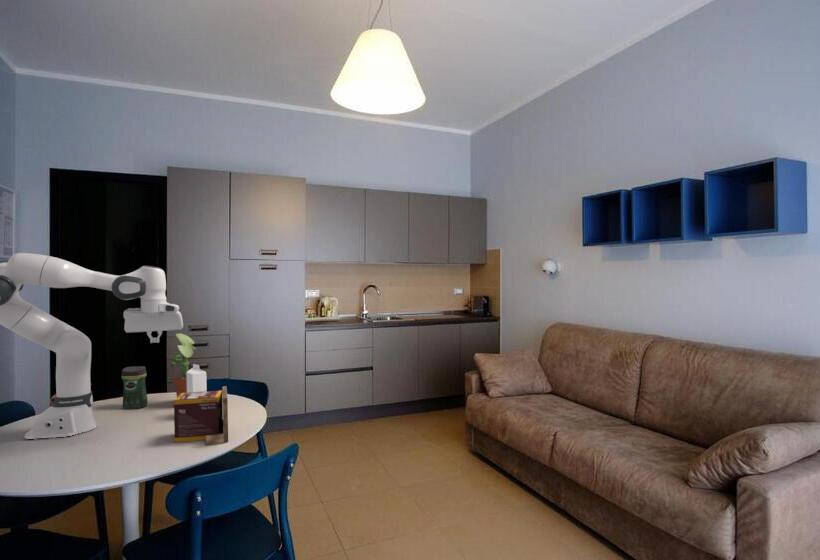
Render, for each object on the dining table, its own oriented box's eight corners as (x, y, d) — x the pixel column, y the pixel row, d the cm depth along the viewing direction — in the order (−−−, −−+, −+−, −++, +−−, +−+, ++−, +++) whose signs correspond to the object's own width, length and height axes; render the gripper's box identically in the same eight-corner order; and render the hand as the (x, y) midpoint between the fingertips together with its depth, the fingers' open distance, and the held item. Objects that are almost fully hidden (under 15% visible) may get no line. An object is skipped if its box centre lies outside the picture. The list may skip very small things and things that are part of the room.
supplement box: (219, 438, 176) (218, 396, 176) (174, 442, 173) (173, 399, 172) (223, 429, 186) (223, 389, 186) (181, 433, 183) (180, 392, 182)
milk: (193, 419, 200) (191, 366, 199) (187, 416, 204) (185, 364, 203) (207, 415, 204) (206, 364, 203) (201, 412, 208) (200, 362, 207)
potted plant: (163, 407, 216) (161, 330, 215) (189, 398, 231) (187, 326, 230) (190, 410, 211) (188, 332, 210) (215, 401, 225) (213, 327, 224)
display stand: (206, 445, 170) (205, 400, 169) (207, 428, 187) (206, 388, 187) (228, 442, 172) (227, 398, 172) (227, 426, 190) (226, 386, 190)
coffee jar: (150, 404, 222) (149, 364, 222) (142, 409, 214) (141, 368, 214) (128, 404, 221) (127, 365, 221) (119, 410, 214) (118, 368, 213)
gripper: (121, 309, 179) (122, 345, 180) (181, 306, 187) (182, 341, 187) (124, 307, 185) (125, 343, 186) (183, 305, 193) (183, 339, 193)
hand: (154, 342), depth 187 cm, fingers closed
